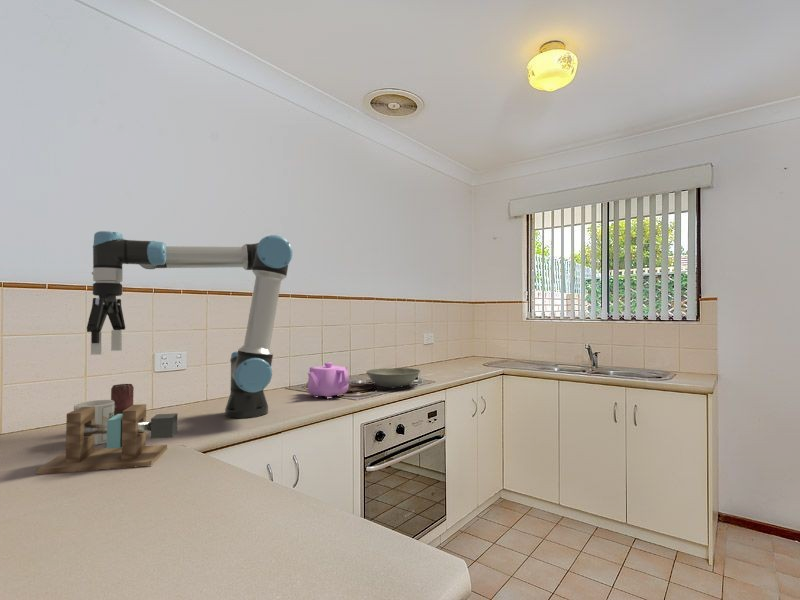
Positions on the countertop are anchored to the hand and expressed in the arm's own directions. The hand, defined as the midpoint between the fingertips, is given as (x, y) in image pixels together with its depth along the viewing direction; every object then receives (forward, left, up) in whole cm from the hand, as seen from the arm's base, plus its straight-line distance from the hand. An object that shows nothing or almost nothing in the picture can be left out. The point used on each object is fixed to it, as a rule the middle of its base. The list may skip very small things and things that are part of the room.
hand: (107, 352), depth 135 cm
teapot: (-71, -50, -25) cm, 90 cm away
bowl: (-105, -68, -25) cm, 127 cm away
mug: (+1, +6, -25) cm, 26 cm away
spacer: (-12, +25, -21) cm, 35 cm away
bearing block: (-10, +25, -25) cm, 37 cm away
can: (-2, -9, -25) cm, 27 cm away
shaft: (-15, +25, -20) cm, 35 cm away
